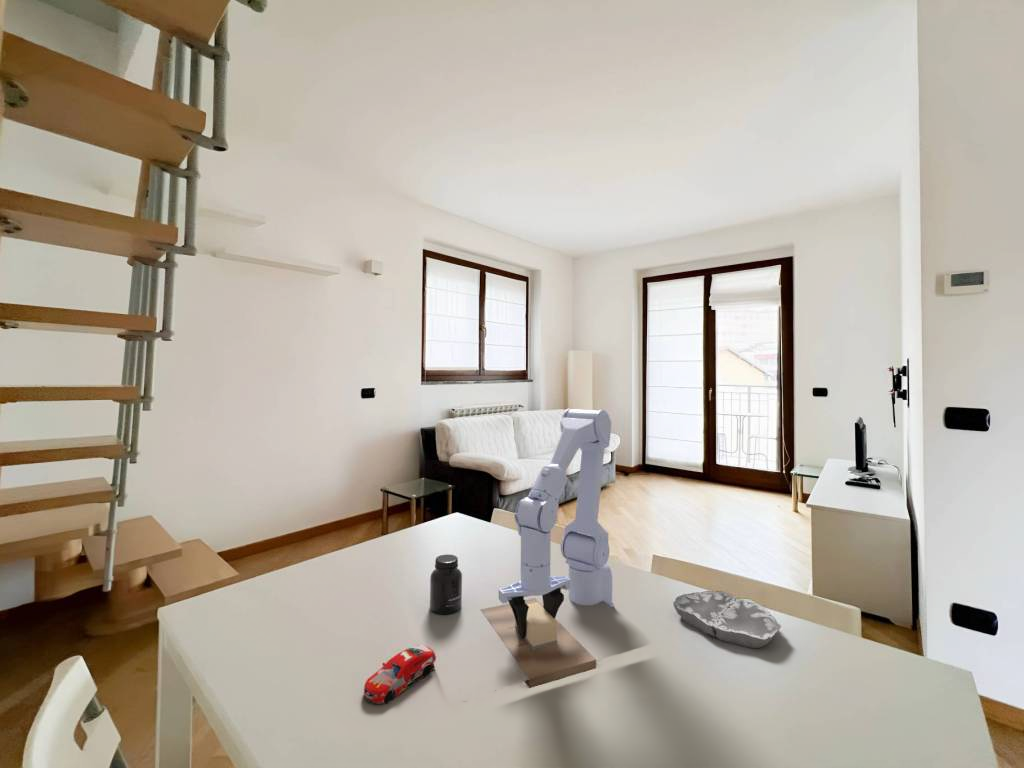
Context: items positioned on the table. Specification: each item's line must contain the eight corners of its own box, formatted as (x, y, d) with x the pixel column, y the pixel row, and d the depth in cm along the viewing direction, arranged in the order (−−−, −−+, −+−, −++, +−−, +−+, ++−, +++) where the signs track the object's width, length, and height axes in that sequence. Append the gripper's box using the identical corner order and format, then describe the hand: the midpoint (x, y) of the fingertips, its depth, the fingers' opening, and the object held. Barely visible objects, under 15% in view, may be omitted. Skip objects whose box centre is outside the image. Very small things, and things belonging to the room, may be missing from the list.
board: (480, 616, 94) (480, 609, 94) (535, 604, 99) (535, 598, 99) (529, 688, 72) (529, 678, 72) (596, 668, 77) (596, 659, 77)
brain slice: (789, 625, 92) (789, 611, 92) (768, 663, 79) (768, 646, 79) (694, 594, 105) (694, 582, 105) (663, 622, 93) (663, 608, 93)
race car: (376, 713, 67) (376, 687, 67) (356, 697, 70) (356, 672, 70) (441, 669, 77) (441, 646, 77) (421, 657, 81) (421, 635, 81)
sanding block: (537, 621, 89) (537, 602, 89) (557, 643, 82) (557, 621, 82) (515, 627, 87) (515, 607, 87) (533, 649, 80) (533, 627, 80)
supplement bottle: (455, 624, 91) (456, 566, 91) (424, 620, 92) (425, 563, 92) (465, 607, 98) (466, 553, 98) (436, 604, 99) (437, 551, 99)
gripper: (558, 548, 91) (557, 613, 91) (492, 559, 85) (492, 629, 86) (576, 561, 85) (575, 631, 85) (507, 573, 79) (506, 649, 79)
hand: (535, 631), depth 85 cm, fingers closed on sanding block, 5 cm apart
